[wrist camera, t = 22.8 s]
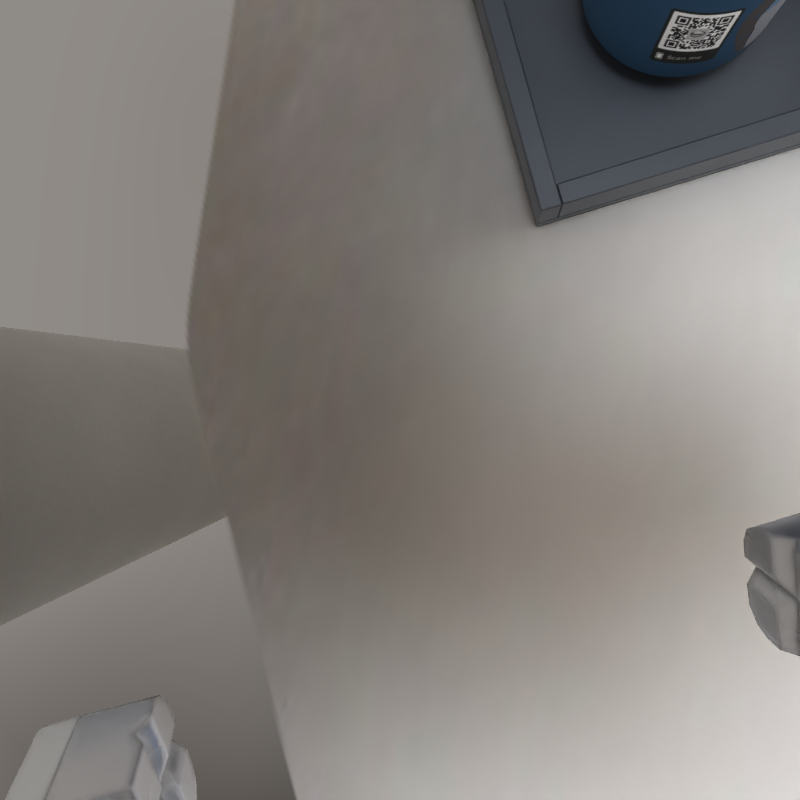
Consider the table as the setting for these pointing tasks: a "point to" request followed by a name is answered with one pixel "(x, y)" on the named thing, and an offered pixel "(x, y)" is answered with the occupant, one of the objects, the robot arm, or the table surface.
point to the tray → (631, 107)
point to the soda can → (677, 32)
